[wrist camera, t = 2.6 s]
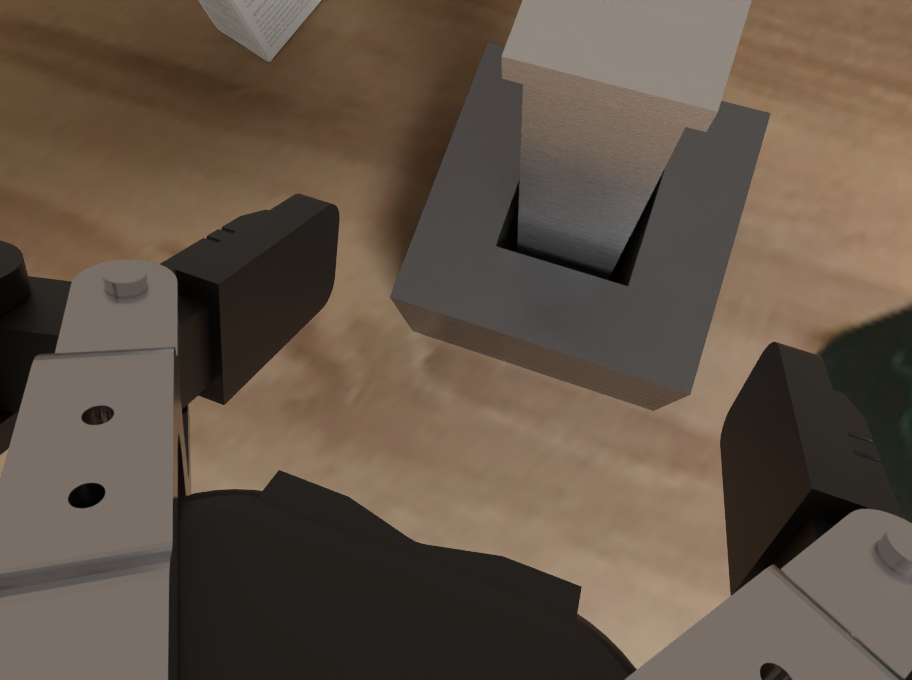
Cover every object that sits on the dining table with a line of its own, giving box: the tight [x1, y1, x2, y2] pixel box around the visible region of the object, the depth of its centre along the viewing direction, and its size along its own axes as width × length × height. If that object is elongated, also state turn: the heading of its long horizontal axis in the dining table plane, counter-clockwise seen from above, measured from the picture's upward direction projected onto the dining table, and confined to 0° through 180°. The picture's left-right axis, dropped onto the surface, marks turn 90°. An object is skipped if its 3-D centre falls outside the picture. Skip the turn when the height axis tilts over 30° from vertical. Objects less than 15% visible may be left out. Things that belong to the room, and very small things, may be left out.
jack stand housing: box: [390, 42, 770, 411], centre depth 28 cm, size 12×12×6 cm
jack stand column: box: [501, 0, 752, 280], centre depth 22 cm, size 5×5×17 cm
